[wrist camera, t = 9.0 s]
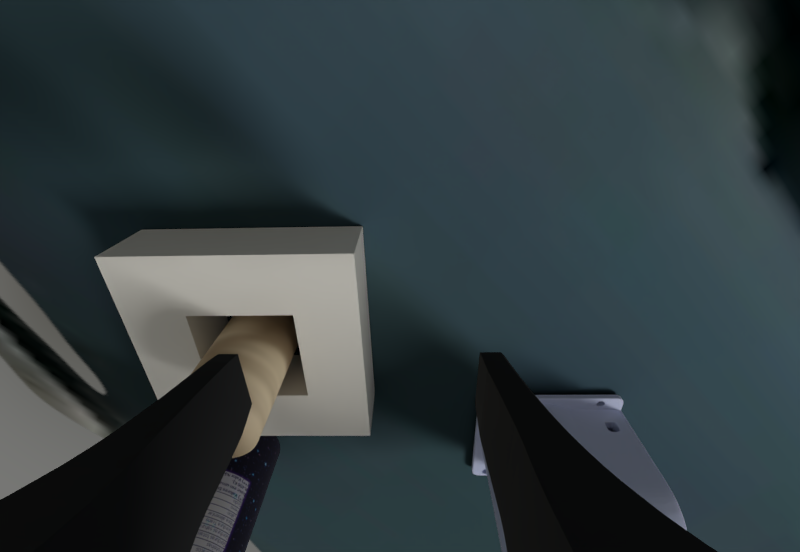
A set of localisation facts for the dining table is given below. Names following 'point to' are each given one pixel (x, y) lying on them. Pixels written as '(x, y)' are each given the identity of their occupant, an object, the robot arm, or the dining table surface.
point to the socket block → (254, 312)
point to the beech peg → (257, 364)
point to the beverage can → (238, 500)
